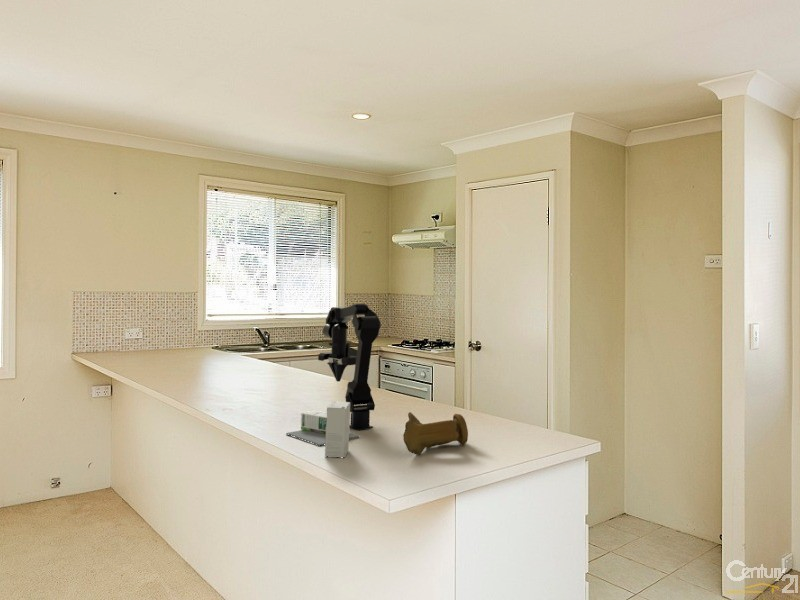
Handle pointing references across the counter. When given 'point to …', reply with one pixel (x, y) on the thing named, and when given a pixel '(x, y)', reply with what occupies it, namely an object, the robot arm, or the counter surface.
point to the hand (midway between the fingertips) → (338, 381)
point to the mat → (315, 436)
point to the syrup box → (314, 421)
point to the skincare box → (337, 429)
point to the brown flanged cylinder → (434, 433)
